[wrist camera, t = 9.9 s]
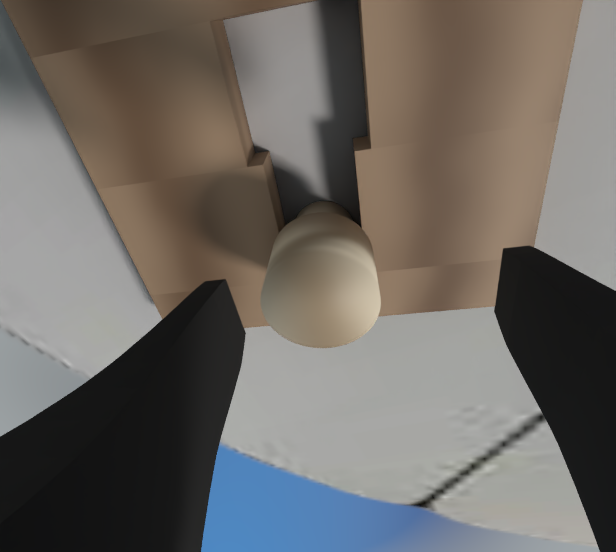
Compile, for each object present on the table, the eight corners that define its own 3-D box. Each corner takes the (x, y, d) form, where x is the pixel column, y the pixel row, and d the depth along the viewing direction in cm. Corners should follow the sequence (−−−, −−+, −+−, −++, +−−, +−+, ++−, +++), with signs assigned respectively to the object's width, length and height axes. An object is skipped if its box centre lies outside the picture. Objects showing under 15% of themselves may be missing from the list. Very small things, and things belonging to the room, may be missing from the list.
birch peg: (361, 177, 19) (372, 244, 13) (374, 258, 21) (387, 340, 16) (268, 196, 20) (244, 265, 14) (292, 271, 22) (278, 354, 17)
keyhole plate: (585, -190, 12) (626, -223, 10) (508, 281, 22) (522, 303, 20) (15, -46, 14) (-26, -53, 13) (181, 312, 25) (170, 334, 23)
